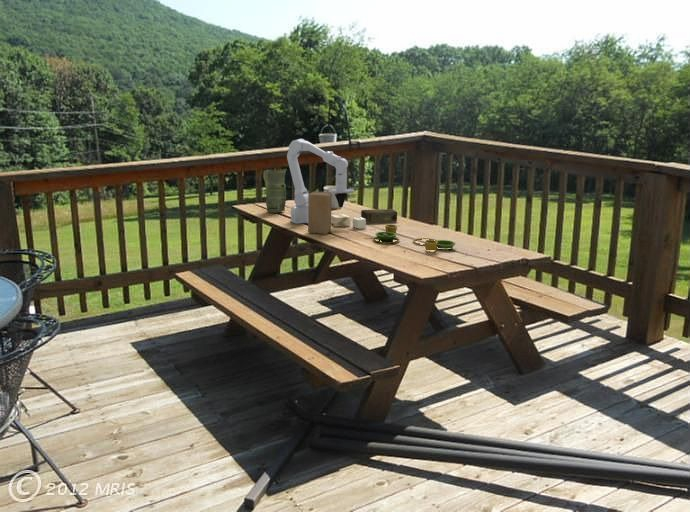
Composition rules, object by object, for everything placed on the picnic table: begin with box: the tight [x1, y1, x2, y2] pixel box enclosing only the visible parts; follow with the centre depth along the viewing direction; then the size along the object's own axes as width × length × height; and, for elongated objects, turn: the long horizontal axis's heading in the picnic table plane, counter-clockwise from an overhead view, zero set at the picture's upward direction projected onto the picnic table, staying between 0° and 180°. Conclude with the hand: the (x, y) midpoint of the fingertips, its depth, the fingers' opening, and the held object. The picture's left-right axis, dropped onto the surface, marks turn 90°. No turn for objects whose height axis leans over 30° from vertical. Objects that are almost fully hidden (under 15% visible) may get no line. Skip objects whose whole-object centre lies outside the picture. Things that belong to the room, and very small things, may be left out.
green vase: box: [262, 168, 288, 214], centre depth 383 cm, size 11×12×25 cm
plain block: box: [331, 213, 351, 227], centre depth 355 cm, size 8×8×5 cm
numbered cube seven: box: [352, 216, 367, 229], centre depth 349 cm, size 5×5×5 cm
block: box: [307, 190, 333, 235], centre depth 335 cm, size 10×10×20 cm
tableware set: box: [364, 224, 456, 251], centre depth 318 cm, size 41×28×6 cm
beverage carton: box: [360, 208, 398, 224], centre depth 366 cm, size 8×19×7 cm, turn 107°
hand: (340, 207), depth 353 cm, fingers closed
